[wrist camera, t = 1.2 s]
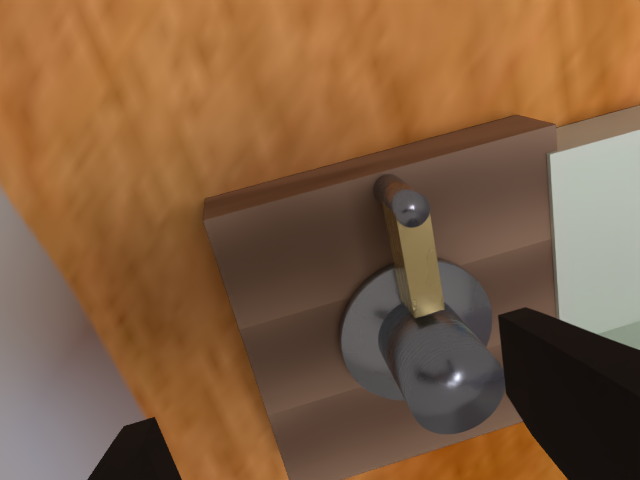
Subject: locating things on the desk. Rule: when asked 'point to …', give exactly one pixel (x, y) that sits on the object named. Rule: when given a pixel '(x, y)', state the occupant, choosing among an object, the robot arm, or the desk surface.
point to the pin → (425, 350)
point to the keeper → (411, 245)
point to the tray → (597, 224)
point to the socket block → (361, 262)
